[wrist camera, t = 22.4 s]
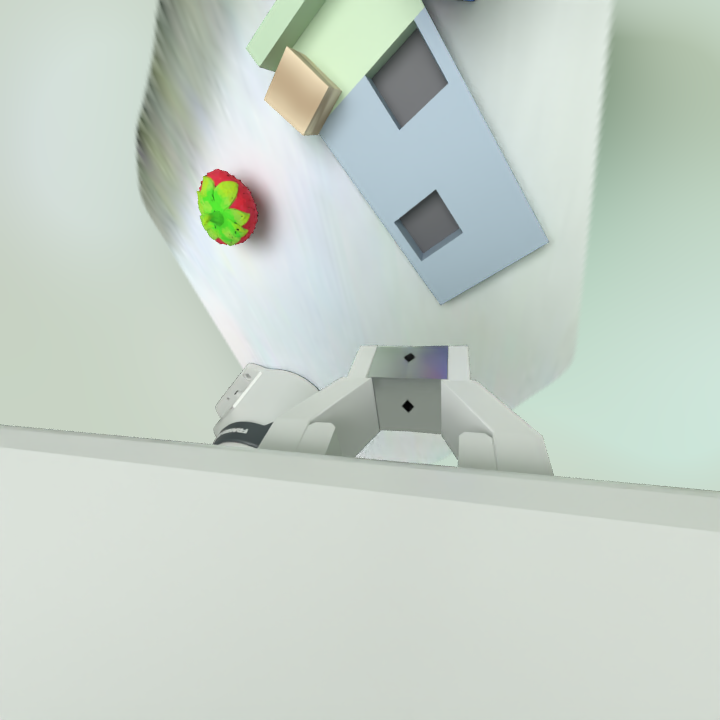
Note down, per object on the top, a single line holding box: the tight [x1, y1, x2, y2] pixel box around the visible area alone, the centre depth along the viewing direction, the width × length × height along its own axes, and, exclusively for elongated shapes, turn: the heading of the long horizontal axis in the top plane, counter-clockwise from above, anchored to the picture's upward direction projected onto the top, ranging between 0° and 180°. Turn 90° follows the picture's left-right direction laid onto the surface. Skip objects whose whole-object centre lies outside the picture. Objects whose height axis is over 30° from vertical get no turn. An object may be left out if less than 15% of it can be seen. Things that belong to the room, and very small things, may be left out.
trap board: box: [246, 0, 549, 305], centre depth 30 cm, size 12×28×6 cm, turn 40°
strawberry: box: [197, 169, 258, 246], centre depth 35 cm, size 6×7×10 cm
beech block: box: [264, 46, 342, 136], centre depth 28 cm, size 4×4×4 cm
